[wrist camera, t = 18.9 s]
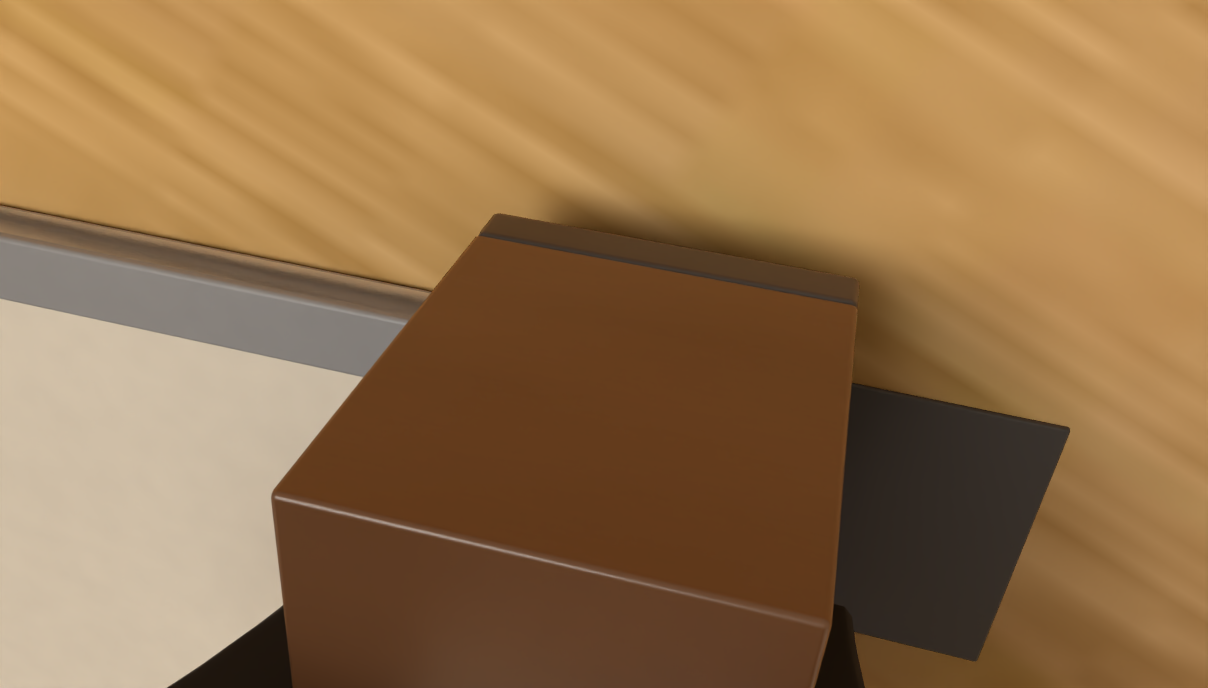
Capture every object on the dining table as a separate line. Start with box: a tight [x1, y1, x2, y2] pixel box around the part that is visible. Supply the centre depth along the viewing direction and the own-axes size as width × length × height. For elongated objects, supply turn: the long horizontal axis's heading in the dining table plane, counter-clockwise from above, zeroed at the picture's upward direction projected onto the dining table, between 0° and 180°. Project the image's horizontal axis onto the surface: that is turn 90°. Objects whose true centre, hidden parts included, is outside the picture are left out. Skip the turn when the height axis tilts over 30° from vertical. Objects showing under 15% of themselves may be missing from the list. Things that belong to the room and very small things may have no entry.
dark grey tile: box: [834, 383, 1070, 661], centre depth 14 cm, size 4×3×1 cm
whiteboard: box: [0, 205, 431, 688], centre depth 18 cm, size 14×20×1 cm
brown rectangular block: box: [271, 214, 859, 688], centre depth 11 cm, size 8×4×5 cm, turn 175°
